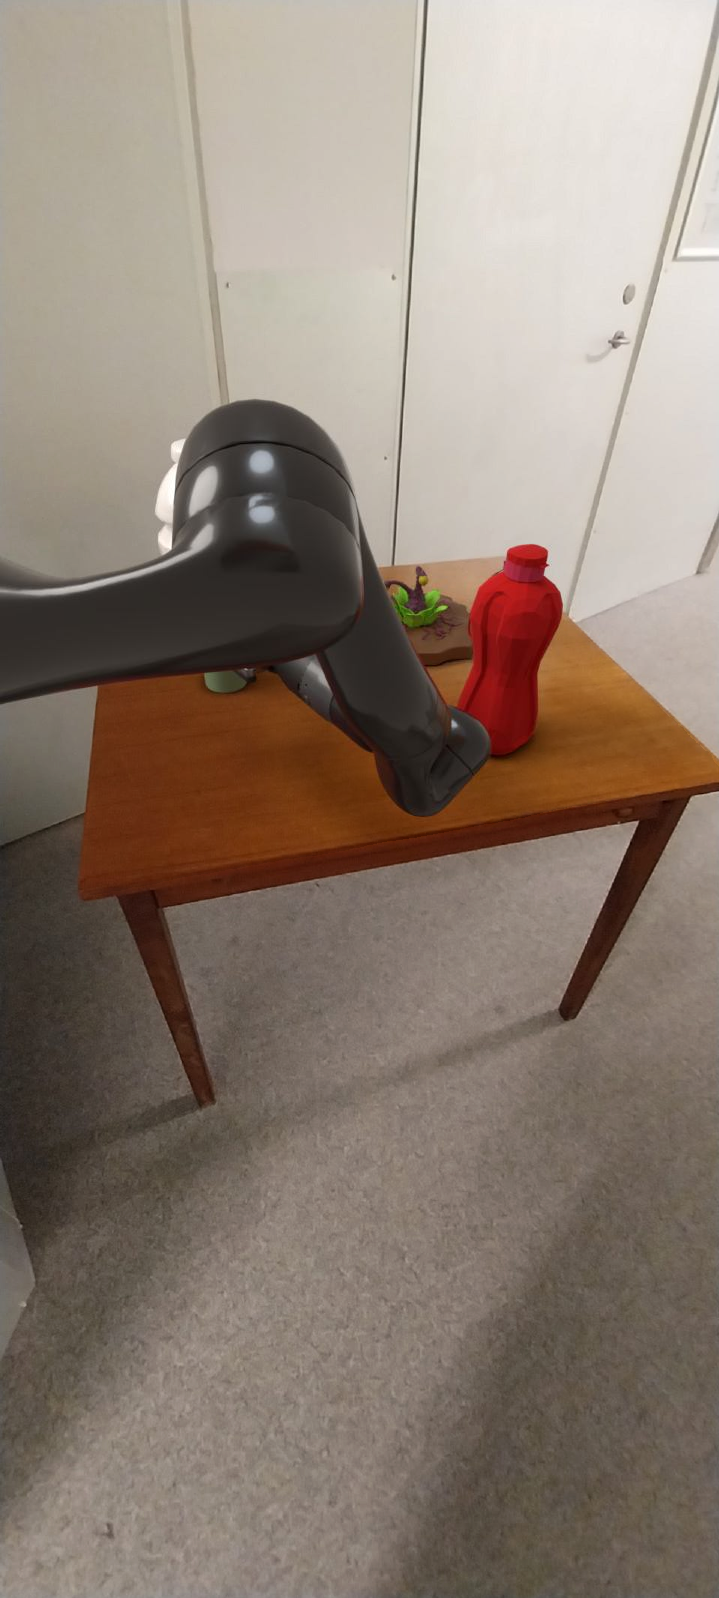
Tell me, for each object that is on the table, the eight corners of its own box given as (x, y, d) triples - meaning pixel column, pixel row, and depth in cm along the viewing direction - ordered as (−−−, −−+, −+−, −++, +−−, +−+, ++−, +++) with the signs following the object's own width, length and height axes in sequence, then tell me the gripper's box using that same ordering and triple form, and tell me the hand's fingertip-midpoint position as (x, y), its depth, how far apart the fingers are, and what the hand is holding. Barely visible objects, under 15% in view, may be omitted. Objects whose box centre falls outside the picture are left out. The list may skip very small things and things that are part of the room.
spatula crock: (207, 695, 93) (180, 525, 77) (203, 672, 97) (176, 506, 81) (250, 689, 94) (232, 520, 78) (244, 667, 99) (226, 503, 83)
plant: (359, 669, 99) (361, 599, 91) (345, 608, 113) (345, 542, 105) (490, 663, 101) (502, 593, 93) (459, 603, 115) (468, 539, 108)
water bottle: (477, 701, 94) (508, 520, 77) (541, 737, 88) (590, 550, 71) (433, 726, 89) (455, 540, 72) (497, 766, 83) (537, 574, 66)
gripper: (386, 629, 71) (303, 573, 80) (272, 669, 65) (196, 603, 74) (383, 688, 76) (305, 630, 85) (276, 731, 70) (204, 662, 79)
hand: (254, 618), depth 80 cm, fingers open, 8 cm apart
